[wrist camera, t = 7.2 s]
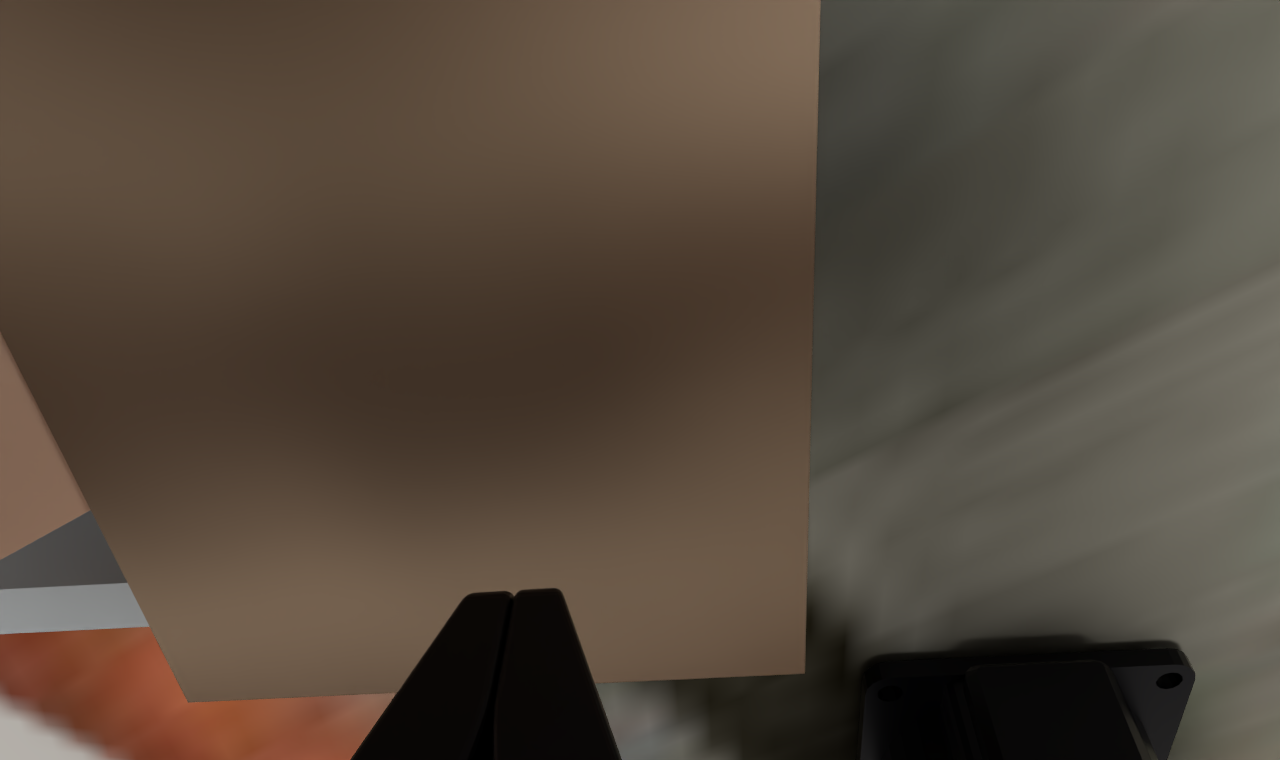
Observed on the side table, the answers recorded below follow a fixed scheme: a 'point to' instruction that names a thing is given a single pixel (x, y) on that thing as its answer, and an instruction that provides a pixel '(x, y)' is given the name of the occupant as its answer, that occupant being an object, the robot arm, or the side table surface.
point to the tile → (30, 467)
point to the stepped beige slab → (423, 320)
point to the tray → (66, 584)
